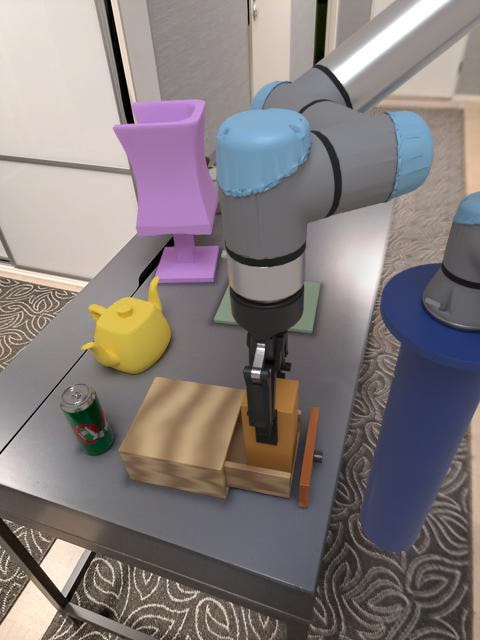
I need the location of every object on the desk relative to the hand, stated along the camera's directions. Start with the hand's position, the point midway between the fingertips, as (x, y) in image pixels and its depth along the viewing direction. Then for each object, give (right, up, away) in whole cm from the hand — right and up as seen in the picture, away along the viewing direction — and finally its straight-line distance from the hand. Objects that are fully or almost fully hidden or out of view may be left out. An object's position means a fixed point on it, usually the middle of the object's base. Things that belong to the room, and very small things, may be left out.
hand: (271, 422), depth 59 cm
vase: (-17, +27, +48) cm, 57 cm away
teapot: (-25, +8, +27) cm, 38 cm away
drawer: (0, -7, +6) cm, 9 cm away
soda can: (-27, -6, +11) cm, 29 cm away
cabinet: (-12, -6, +9) cm, 16 cm away
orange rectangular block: (+1, -6, +5) cm, 8 cm away
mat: (+2, +17, +35) cm, 39 cm away
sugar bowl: (-12, +46, +70) cm, 85 cm away
